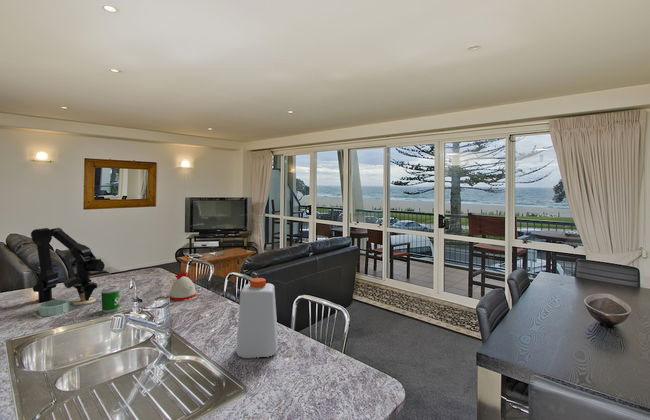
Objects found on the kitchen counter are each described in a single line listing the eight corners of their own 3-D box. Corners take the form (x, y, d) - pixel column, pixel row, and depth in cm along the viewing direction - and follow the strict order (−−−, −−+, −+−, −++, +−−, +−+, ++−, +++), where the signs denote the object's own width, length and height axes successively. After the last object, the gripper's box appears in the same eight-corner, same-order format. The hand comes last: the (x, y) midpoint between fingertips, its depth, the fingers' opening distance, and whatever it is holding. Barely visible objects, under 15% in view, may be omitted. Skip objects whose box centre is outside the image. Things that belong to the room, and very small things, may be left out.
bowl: (36, 313, 161) (35, 304, 161) (64, 306, 171) (64, 298, 170) (44, 318, 155) (43, 309, 155) (73, 311, 164) (72, 302, 164)
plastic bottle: (241, 340, 136) (241, 274, 134) (278, 340, 137) (278, 274, 135) (234, 360, 121) (234, 285, 119) (275, 359, 122) (276, 285, 120)
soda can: (111, 314, 161) (110, 290, 161) (98, 312, 163) (97, 289, 162) (123, 308, 169) (122, 286, 168) (111, 307, 170) (110, 284, 169)
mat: (65, 303, 176) (65, 302, 176) (91, 297, 186) (91, 296, 186) (76, 308, 168) (76, 308, 168) (102, 302, 178) (102, 301, 178)
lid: (68, 302, 175) (68, 294, 175) (91, 297, 184) (90, 289, 184) (76, 306, 169) (76, 298, 169) (99, 301, 178) (99, 293, 178)
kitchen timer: (165, 296, 188) (165, 271, 187) (188, 291, 199) (188, 266, 198) (176, 302, 179) (176, 275, 178) (200, 296, 190) (200, 270, 189)
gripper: (58, 271, 174) (59, 300, 175) (71, 277, 164) (73, 307, 165) (82, 267, 183) (83, 294, 184) (97, 272, 173) (98, 301, 174)
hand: (84, 299), depth 177 cm, fingers open, 7 cm apart
